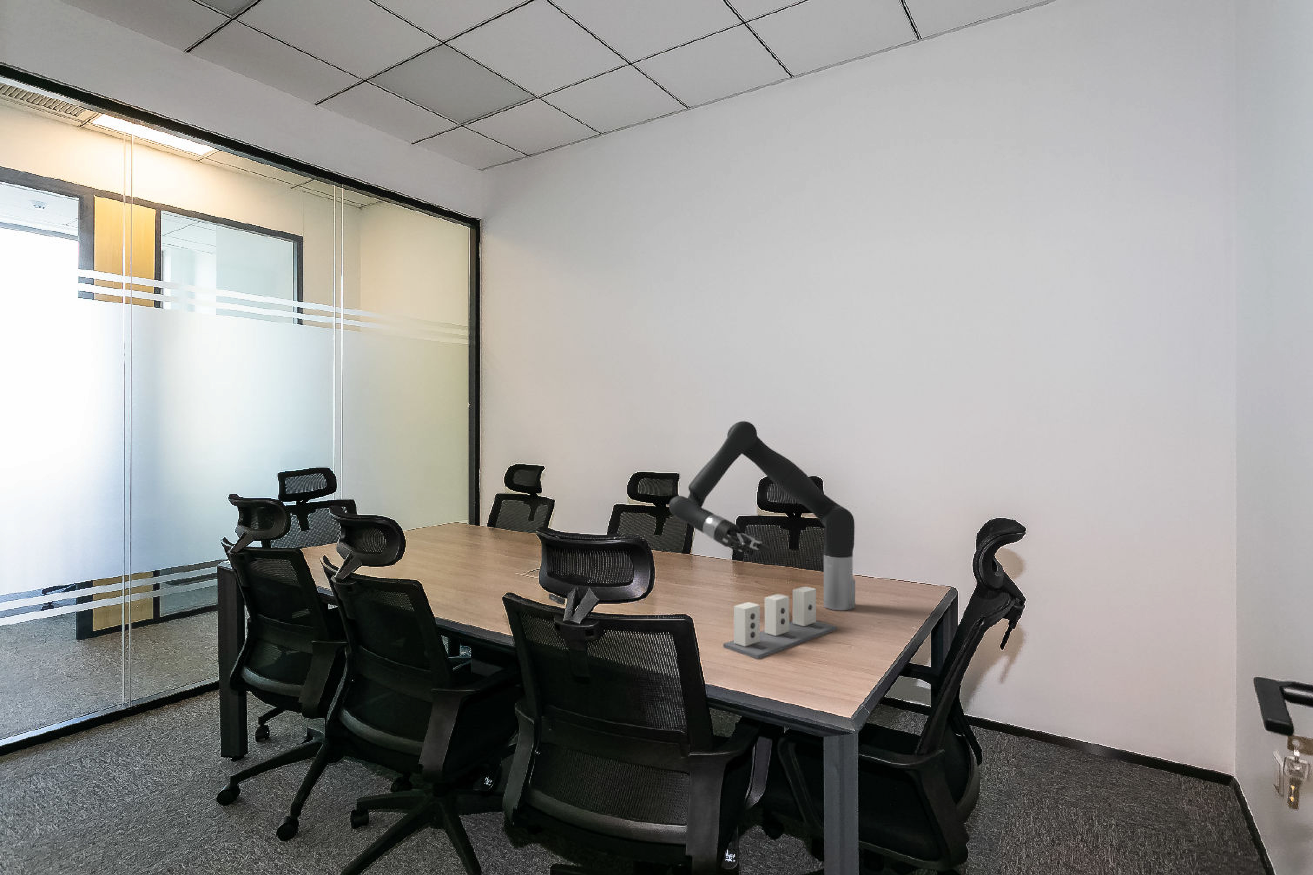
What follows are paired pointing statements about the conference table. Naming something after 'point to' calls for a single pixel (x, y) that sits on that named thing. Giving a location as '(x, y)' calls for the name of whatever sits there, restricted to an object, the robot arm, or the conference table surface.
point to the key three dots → (746, 624)
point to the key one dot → (804, 606)
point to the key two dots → (776, 614)
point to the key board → (781, 639)
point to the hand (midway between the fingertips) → (762, 552)
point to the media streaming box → (557, 599)
